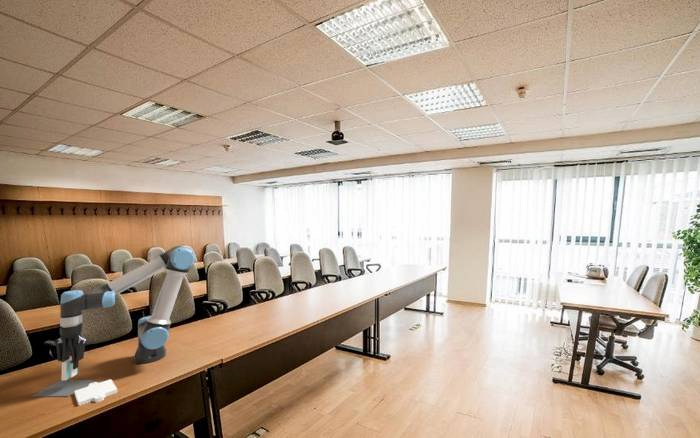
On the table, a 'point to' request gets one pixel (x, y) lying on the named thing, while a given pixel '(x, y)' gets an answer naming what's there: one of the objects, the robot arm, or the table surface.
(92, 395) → the mounting plate
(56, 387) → the mat
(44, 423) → the table surface
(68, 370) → the tile
